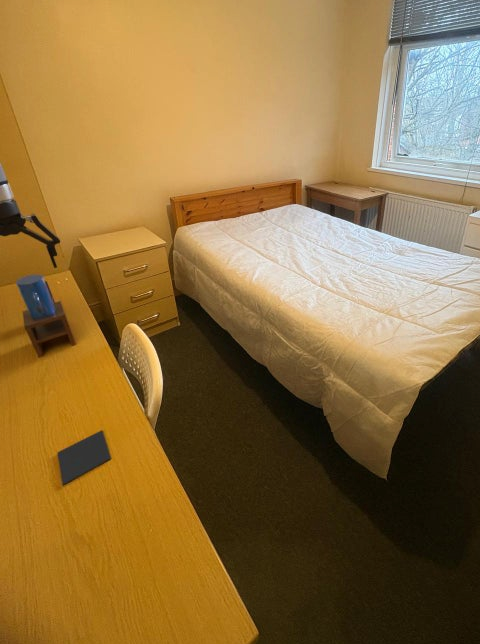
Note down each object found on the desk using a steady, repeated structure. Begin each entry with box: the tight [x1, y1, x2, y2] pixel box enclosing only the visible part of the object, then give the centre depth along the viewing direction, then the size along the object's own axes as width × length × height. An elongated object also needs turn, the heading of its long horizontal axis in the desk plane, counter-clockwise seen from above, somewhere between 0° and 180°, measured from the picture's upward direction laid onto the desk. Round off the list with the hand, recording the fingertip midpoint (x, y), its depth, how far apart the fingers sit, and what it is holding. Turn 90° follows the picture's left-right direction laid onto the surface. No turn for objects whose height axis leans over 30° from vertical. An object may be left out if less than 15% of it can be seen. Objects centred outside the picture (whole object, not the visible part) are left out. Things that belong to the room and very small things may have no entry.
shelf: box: [22, 300, 77, 358], centre depth 103 cm, size 10×10×12 cm
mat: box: [57, 430, 112, 486], centre depth 72 cm, size 9×9×1 cm
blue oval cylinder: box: [15, 273, 56, 319], centre depth 97 cm, size 9×6×12 cm
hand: (27, 272), depth 94 cm, fingers open, 13 cm apart
